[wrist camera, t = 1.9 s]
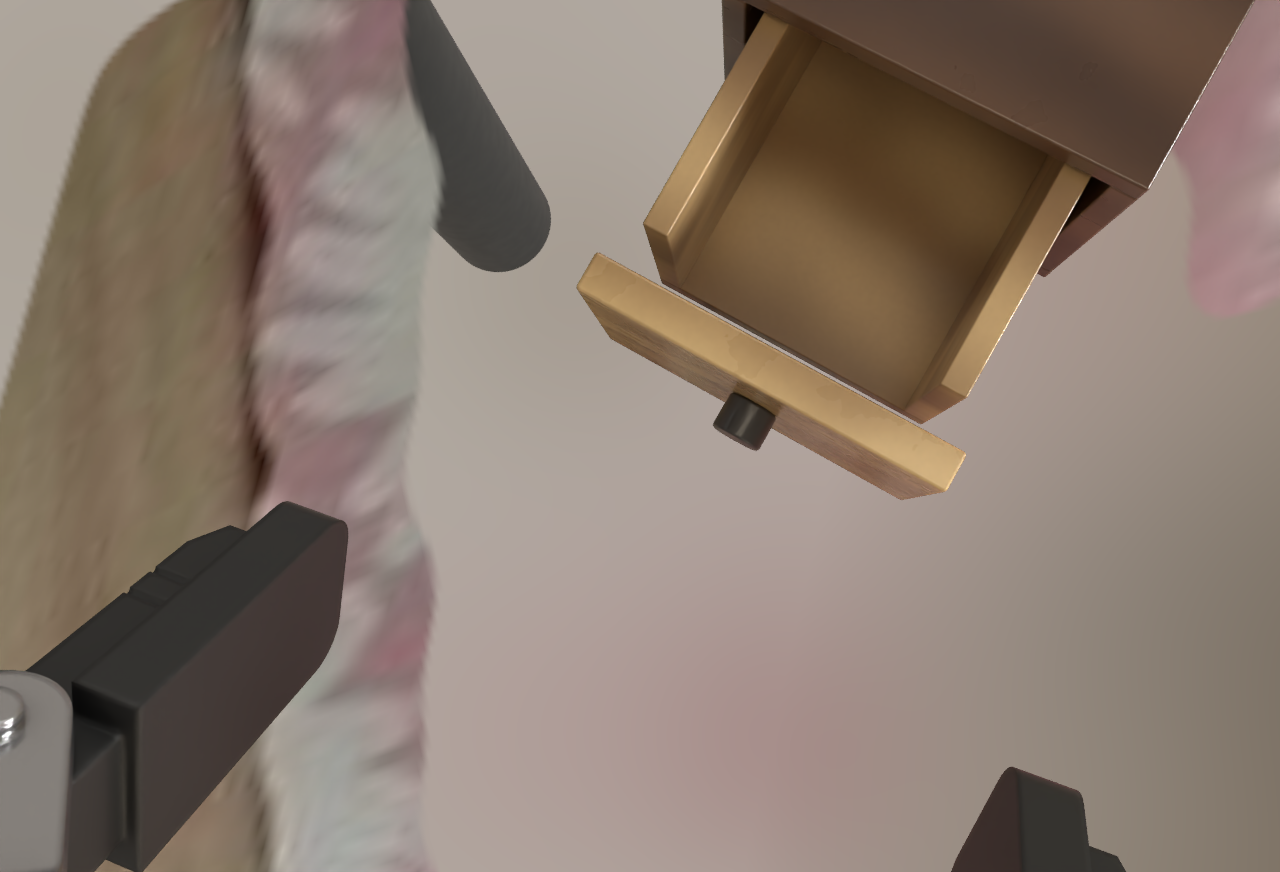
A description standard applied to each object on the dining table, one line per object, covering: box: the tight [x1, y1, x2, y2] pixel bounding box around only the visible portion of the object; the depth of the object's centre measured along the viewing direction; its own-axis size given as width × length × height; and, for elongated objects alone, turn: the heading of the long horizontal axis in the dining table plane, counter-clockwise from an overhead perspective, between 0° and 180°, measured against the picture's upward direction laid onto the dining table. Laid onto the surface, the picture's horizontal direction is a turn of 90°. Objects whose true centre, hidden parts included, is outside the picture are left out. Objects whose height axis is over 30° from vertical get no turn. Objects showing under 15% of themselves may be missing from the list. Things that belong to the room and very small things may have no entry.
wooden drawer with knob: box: [577, 12, 1091, 500], centre depth 33 cm, size 15×11×8 cm
